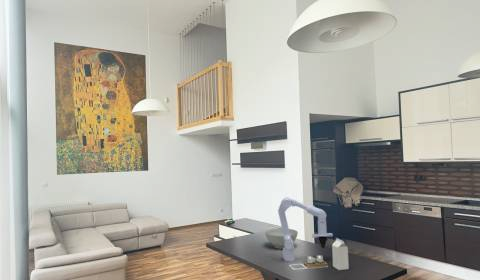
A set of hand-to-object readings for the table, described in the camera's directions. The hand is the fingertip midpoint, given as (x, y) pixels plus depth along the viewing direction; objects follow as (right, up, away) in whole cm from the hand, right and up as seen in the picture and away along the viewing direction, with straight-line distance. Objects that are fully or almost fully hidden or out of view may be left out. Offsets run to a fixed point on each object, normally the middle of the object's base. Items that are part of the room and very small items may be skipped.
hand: (323, 247), depth 214 cm
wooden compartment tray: (-8, -9, -11) cm, 16 cm away
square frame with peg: (-7, -10, -3) cm, 13 cm away
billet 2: (-5, -8, -10) cm, 14 cm away
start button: (-7, -10, -3) cm, 12 cm away
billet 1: (-11, -8, -12) cm, 18 cm away
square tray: (-20, -10, -12) cm, 25 cm away
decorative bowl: (-23, -14, +40) cm, 48 cm away
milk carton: (+7, -9, -16) cm, 19 cm away
